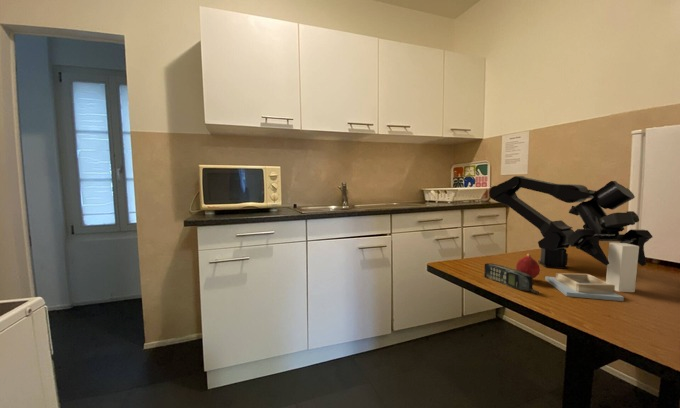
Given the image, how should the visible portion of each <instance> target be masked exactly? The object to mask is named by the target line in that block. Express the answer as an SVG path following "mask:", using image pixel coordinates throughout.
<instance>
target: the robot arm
mask: <svg viewBox="0 0 680 408" xmlns="http://www.w3.org/2000/svg"><path fill="white" fill-rule="evenodd" d="M521 188H522V189H526V190H530V191H534V192H539V193H542V194H547V195H550V196H552V197H553V198H555V199H557V200H559V201H561V202H565V203H567V204H572V203H573V204H574V203H578V204H576V205H571V208H569V210H568V213H569V214H570V215H574V216H579V217H580V219H581V220H582V222H583V223H584V224H583V225H582V228H577V229H576V230H573V226H569V225H568V224H567V223H566V222H564V221H563V220H561V219H560V220H554V221H553V220H550V219H549V218H547V217H546V216H545V215H543V214H542V213H541V212H539V211H538V210H536V209H535V208H533V207H532V206H531V205H529V204H528V203H526V202H525V201H523V200H522V199H520V198H519V197H518V195H517V192H518V191H519V190H520V189H521ZM488 194H489V195H488V196H489V198H490V199H491V200H493V201H495V202H497V203H499V204H502V205H505V206H508V207H509V208H511V209H512V211H514V212H515V213H517V214H518V215H519V216H521V217H522V218H523V219H525V220H526V221H527V222H528V223H530V224H531V225H533V226H534V227H535V228H537V229H538V230H539V232H540V234H541V235H542V237H543V238H542V239H540V240H538V242H537V244H538V248H540V249H541V250H540V260H538V261H537V263H538V264H541V265H542V266H544V267H545V268H552V269H554V268H555V269H569V267H568V259H569V257H568V256H569V254H568V253H567V249H568V248H569V247H571V248H575V249H577V250H580V251H582V252H584V253H586V254H587V255H589V256H591V257H592V258H594V259H595V260H597V261H598V262H600V263H601V264H603V265H604V266H607V265H608V264H609V262H608V256H606V254H605V252H604V251H603V249H602V247H601V245H600V242H617V243H628V244H632V245H636V246H639V253H638V263H637V264H639V265H640V266H641V267H645V266H646V265H647V260H646V255H645V247H644V246H645V243H647V242H648V241H650V240H651V239H652V238H653V235H652V233H650V231H649V230H647V229H632V228H631V229H629V230H628V231H627V232H625V233H624V234H623V233H622V234H620V232H623V231H624V230H625V228H624V227H627V226H635V225H636V223H639V221H640V218H639V215H638V214H637V212H635V211H632V210H631V211H630V210H628V211H626V212H613V213H609V214H607V213H606V212H605V210H608V209H609V210H613V211H614V210H615V209H617V208H619V207H621V206H622V205H624V204H627V203H628V202H630V201H632V200H633V199H635V197H636V196H635V195H634V193H633V192H632V191H631V190H630V189H629V188H628V187H627V188H626V187H625V186H624V185H623V184H621V183H618V182H617V180H610V181H609V182H607V183H606V184H605V185H604V186H602V187H601V188H599V189H597V190H593V189H588V187H587V186H586V185H584V184H583V185H582V184H571V183H569V184H568V183H567V184H565V183H554V182H550V181H544V180H539V179H534V178H531V177H530V178H529V177H526V176H523V175H515V176H513V177H511V178H509V179H507V180H505V181H503V182H501V183H499V184H497V185H493V186H491V188H490V189H489V191H488ZM588 199H589V200H588Z"/></svg>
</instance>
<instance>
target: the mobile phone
mask: <svg viewBox="0 0 680 408" xmlns="http://www.w3.org/2000/svg"><path fill="white" fill-rule="evenodd" d="M483 276H484V278H486V279H488V280H491V281H494V282H497V283H500V284H502V285H505V286H507V287H509V288H513V289H515V290H520V291H528V292H531V293H534V294H536V295H539V293H540V292H539V291H538V290H535V289H533V285H534V280H533V279H534V278H533V279H532V277H531V276H530V275H529V274H526V273H524V272H521V271H518V270H516V268H515V269H514V268H511V267H507V266H504V265H500V264H495V263H484V275H483Z"/></svg>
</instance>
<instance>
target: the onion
mask: <svg viewBox="0 0 680 408" xmlns="http://www.w3.org/2000/svg"><path fill="white" fill-rule="evenodd" d="M515 270H518V271H521V272H524V273H526V274H529V275H530V276H531V277H532V279H535V278H536V277H537V276H538V275H539V274H540V271H541V270H540V265H539V262H538V261H537V260H535V259H534V258H533V257H532V256H531V254H530V253H527V254H526V255H525V256H524V257H522V258H520V259H519V260H518V261H517V262H516V268H515Z"/></svg>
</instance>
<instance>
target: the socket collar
mask: <svg viewBox="0 0 680 408" xmlns="http://www.w3.org/2000/svg"><path fill="white" fill-rule="evenodd" d="M555 277H556V280H557V281H559V282H561V283H562V284H564V285H566V286H568V287H570V288H572V289H574V290H576V291H577V292H596V293H614V292H615V290H614V289H615V285H613V284H610V283H608V282H606V280H604V279H600V278H598V277H596V276H594V275H591V274H589V273H567V272H565V273H564V272H563V273H562V272H556V273H555ZM576 281H582V282H588V283H591V284H582V283H578V282H576Z"/></svg>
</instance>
